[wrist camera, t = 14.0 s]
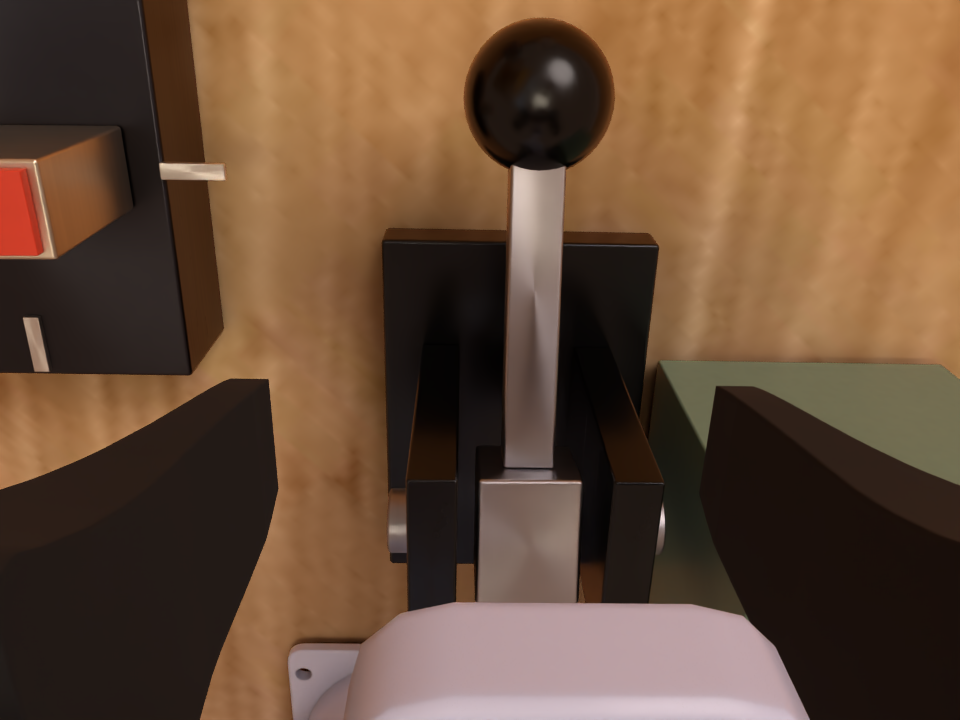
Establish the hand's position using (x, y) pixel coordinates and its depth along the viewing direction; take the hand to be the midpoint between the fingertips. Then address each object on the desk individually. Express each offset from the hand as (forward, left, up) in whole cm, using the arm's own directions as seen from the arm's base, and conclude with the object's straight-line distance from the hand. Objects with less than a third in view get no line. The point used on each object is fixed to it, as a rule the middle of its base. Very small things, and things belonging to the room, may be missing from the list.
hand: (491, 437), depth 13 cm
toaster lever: (0, -1, -6) cm, 6 cm away
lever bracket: (-4, -1, -10) cm, 10 cm away
